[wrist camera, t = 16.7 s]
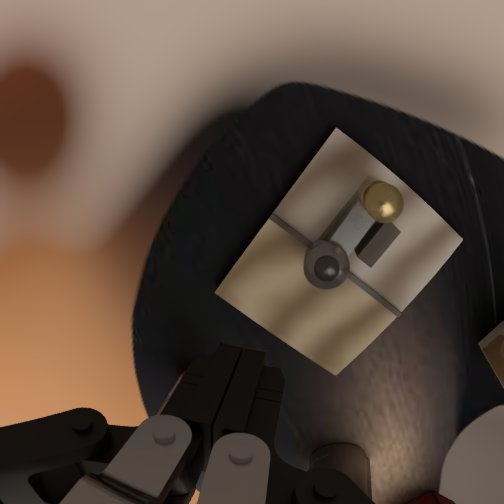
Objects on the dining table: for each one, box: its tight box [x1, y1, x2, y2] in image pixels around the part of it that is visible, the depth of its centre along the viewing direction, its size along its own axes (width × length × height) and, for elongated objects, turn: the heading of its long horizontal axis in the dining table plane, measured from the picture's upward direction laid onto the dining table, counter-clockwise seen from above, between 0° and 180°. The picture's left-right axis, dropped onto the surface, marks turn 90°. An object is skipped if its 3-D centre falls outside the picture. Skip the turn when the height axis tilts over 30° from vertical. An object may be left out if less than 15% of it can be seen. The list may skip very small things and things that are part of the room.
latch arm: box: [303, 178, 404, 289], centre depth 28 cm, size 12×4×6 cm, turn 148°
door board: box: [215, 128, 463, 376], centre depth 32 cm, size 18×22×4 cm
